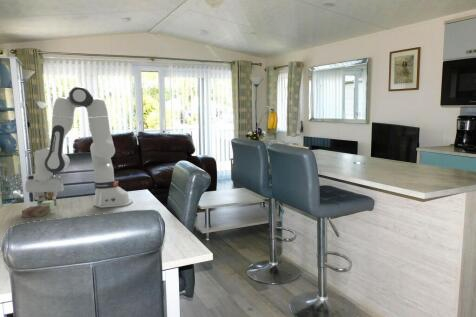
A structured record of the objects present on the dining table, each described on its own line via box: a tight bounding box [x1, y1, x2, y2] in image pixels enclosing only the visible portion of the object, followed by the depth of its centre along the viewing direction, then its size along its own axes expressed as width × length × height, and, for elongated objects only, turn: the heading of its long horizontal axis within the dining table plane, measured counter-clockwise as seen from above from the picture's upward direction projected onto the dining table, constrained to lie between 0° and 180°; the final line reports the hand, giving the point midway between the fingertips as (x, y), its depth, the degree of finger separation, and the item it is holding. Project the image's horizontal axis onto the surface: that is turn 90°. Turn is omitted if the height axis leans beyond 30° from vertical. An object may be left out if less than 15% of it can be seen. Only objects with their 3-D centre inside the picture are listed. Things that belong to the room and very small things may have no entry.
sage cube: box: [41, 200, 55, 212], centre depth 212 cm, size 5×5×5 cm
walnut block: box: [21, 205, 51, 218], centre depth 202 cm, size 10×10×4 cm
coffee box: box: [36, 192, 57, 206], centre depth 221 cm, size 9×6×16 cm
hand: (45, 199), depth 211 cm, fingers open, 8 cm apart
